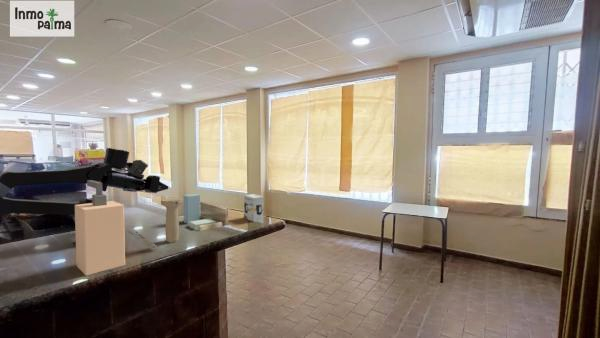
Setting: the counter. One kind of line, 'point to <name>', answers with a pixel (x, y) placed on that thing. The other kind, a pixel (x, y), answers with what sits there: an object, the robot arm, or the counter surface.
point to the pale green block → (200, 223)
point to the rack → (212, 215)
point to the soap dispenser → (99, 233)
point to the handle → (172, 218)
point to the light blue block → (191, 207)
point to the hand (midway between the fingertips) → (160, 187)
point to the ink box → (253, 208)
